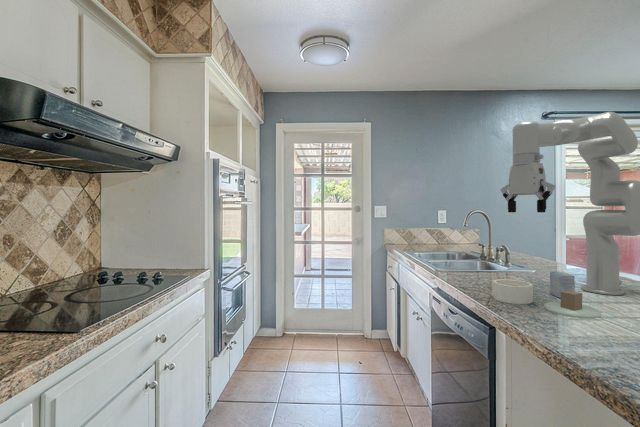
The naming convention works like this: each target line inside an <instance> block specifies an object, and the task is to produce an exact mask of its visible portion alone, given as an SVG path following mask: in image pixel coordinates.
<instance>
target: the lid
mask: <svg viewBox="0 0 640 427" xmlns="http://www.w3.org/2000/svg"><path fill="white" fill-rule="evenodd" d="M559 299H560V301H548V302H545V303H544V304H543V308H544V309H545V310H546V311H548V312H551V313H553V314H557V315H561V316H565V317H570V318H576V317H578V318H579V319H598V318H601V317H602V313H601V311H600V310H599V309H598V308H594V307H591V306H588V305H584V304H583V293H582V292H578V291H575V292H574V291H569V290H567V291H561V292H560V298H559Z"/></svg>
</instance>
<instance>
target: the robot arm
mask: <svg viewBox="0 0 640 427" xmlns="http://www.w3.org/2000/svg"><path fill="white" fill-rule="evenodd" d="M638 140H639V139H638V136H637V135H636V134H635V132H634V131H633V129H632V128H631V127H630V126H629V124H628V122H626V121H625V119H624V118H623V116H621V115H619V114H618V113H616V112H614V111H607V112H602V113H597V114H593V115H589V116H584V117H576V118H570V119H563V120H560V121H554V122H537V121H524V122H520V123H519V122H518V123H516V124H515V125H513V128H512V165H511V167H510V170H509V175H508V184H507V185H505V186H503V187H502V188H500V192H501V194H502V196H503V198H504V199H505V201H507V212H508V213H516V212H517V201H516V198H518V197H519V196H532V195H535V196H536V197H537V198H538V199H537V200H536V212H537V213H546V210H547V200H548V199H549V197H551V195H553V192H554V190H555V188H556V184H553V183H551V182H548V181H547V178H546V173H545V168H544V164H543V162H541V160H542V159H544V154H541V151H540V149H541V148H546V147H553V146H554V147H555V146H563V145H568V144H574V143H578V144H577V150H578V153H579V154H578V155H579V156H580V157H581V158H582V159H583V161H585V163H586V165H587V166H588V168H589V170H590V171H589V172H590V186H589V200H590V203H591V204H592V205H593V206H595V207H596V206H597V207H624V208H625V209H597V210H596V209H594V210H591V211H588V212H586V214H584V216H583V219H582V223H583V228H584V232H585V240H586V242H585V243H586V244H585V245H586V252H585V253H586V254H585V255H586V284H583V285H581V290H583V291H585V292H589V293H594V294H599V295H600V294H601V295H609V296H610V295H611V296H624V295H625V294H626V290H625V289H622V288H620V286H621V285H622V284H623V281H622V280H620V246H619V244H618V242H617V241H616V239H615V238H614V237H613V236H621V237H622V236H624V237H625V236H626V237H628V236H629V237H637V236H640V181H639V180H635V179H633V180H632V179H630V180H621V167H620V166H619V164H618V163H617V162H615V161H614V160H613V159H611V158H612V157H613V158H614V157H621V156H626V155H630V154H632V153H634V152H635V151H636V150H637V148H638V144H639V141H638ZM518 195H519V196H518Z"/></svg>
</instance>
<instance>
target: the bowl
mask: <svg viewBox="0 0 640 427" xmlns="http://www.w3.org/2000/svg"><path fill="white" fill-rule="evenodd" d="M533 289H534V284H533V283H531V282H528V281H524V280H520V279H518V280H517V279H510V278H509V279H508V278H504V279H503V278H500V279H493V281H492V298H493V300H495V301H497V302H500V303H503V304H504V303H505V304H509V305H517V306H519V305H520V306H525V305H531V304H533V302H534V301H533V299H534V298H533V297H534V293H533V292H534V290H533Z"/></svg>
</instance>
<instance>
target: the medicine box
mask: <svg viewBox="0 0 640 427" xmlns="http://www.w3.org/2000/svg"><path fill="white" fill-rule="evenodd" d="M575 279H576V278H575V275H574V274H571V273H568V272H565V271H549V282H550V284H549V286H550V287H549V289H550V290H549V292H550V293H549V294H551V295H553V296H555V297H557V298H559V299H560V292H561V291H567V290H569V291H574V292H576V285H575V284H576V283H575V282H576V281H575Z"/></svg>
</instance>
